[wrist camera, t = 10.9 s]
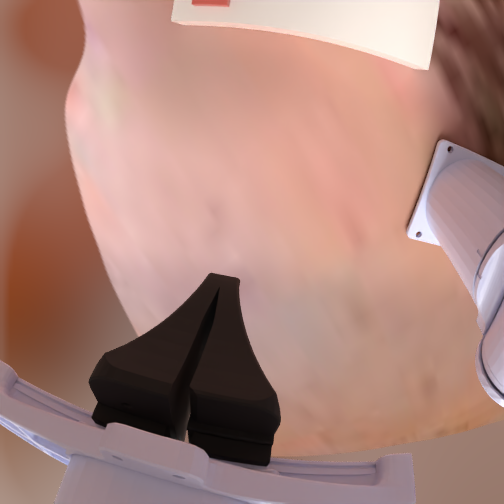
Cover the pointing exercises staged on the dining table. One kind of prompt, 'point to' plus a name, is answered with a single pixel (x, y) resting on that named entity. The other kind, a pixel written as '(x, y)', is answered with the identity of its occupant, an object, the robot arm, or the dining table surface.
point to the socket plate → (329, 23)
